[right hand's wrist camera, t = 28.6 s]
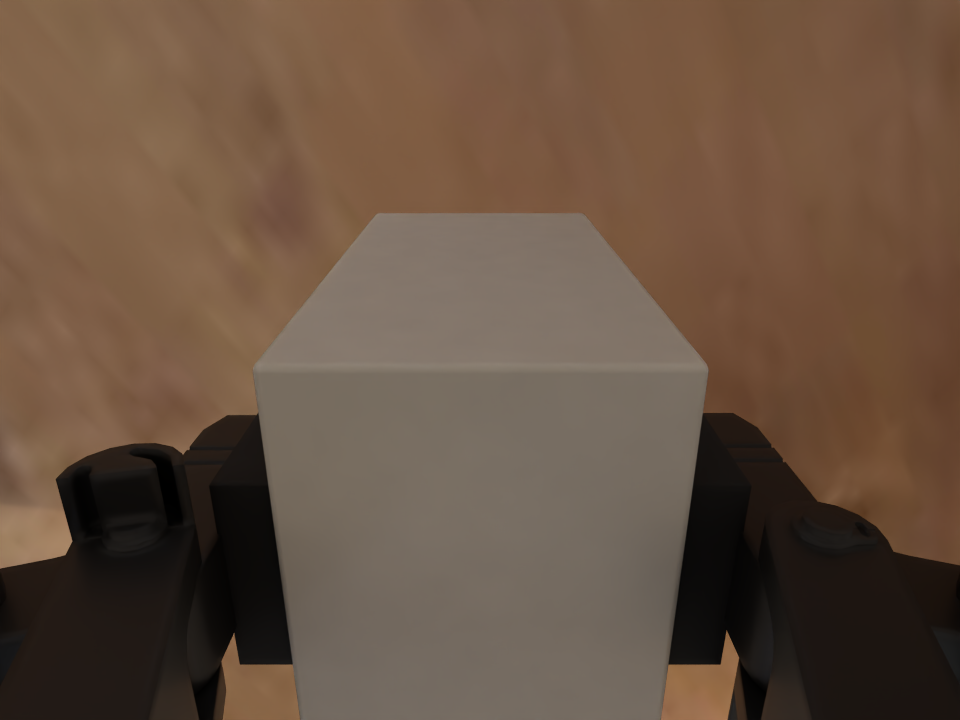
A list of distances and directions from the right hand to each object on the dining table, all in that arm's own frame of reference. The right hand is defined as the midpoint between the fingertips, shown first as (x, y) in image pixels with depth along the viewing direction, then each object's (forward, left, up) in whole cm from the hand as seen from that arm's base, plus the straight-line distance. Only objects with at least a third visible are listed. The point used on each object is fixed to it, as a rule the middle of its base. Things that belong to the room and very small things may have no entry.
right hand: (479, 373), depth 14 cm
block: (0, 0, -2) cm, 2 cm away
